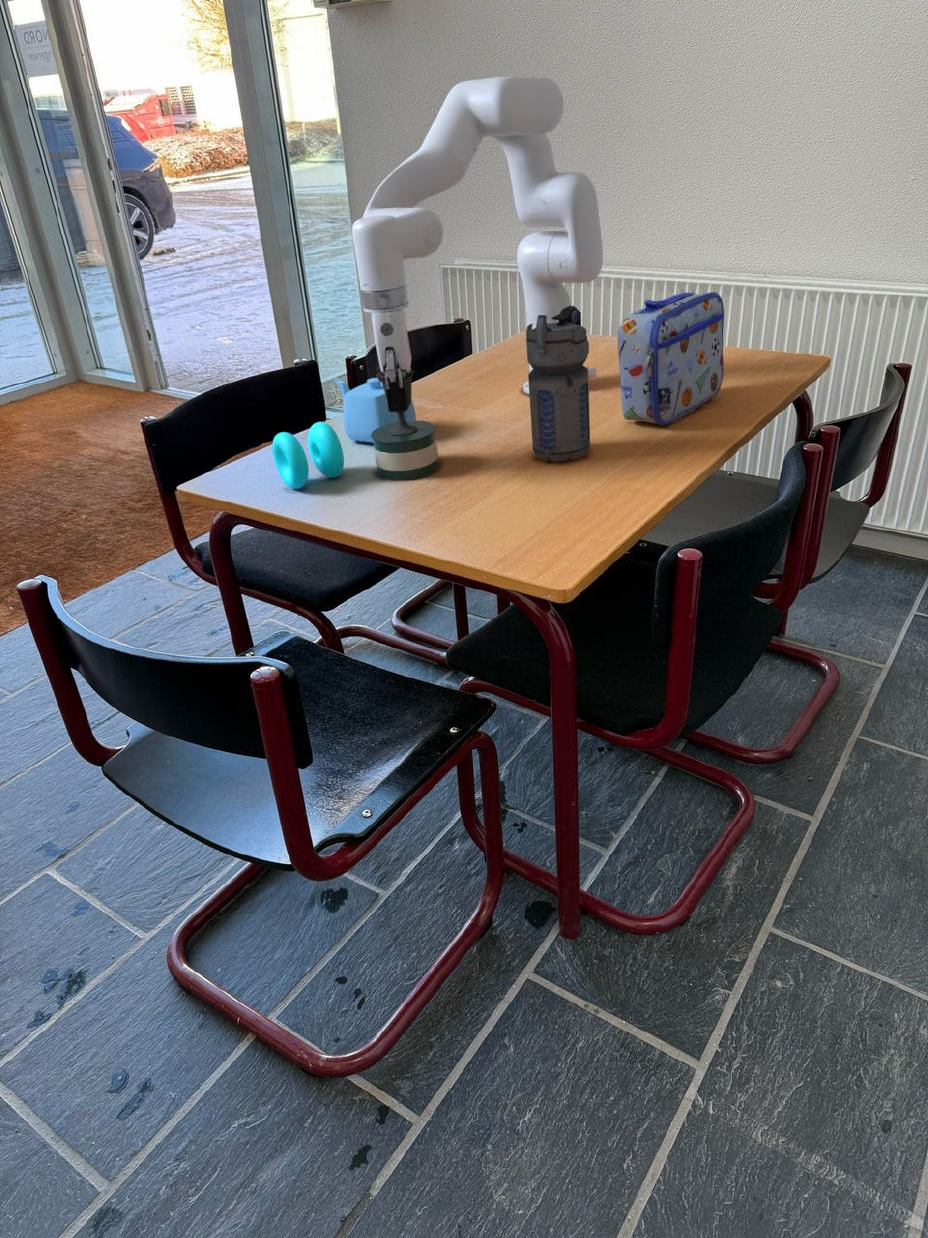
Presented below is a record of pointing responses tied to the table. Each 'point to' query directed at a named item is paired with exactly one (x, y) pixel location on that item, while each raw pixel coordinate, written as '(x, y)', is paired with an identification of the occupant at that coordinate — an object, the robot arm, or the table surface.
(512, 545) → the table surface
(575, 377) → the beverage bottle
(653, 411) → the lunch box
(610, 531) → the table surface
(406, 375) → the sundae
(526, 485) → the table surface
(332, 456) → the donuts
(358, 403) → the teapot
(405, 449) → the tin
